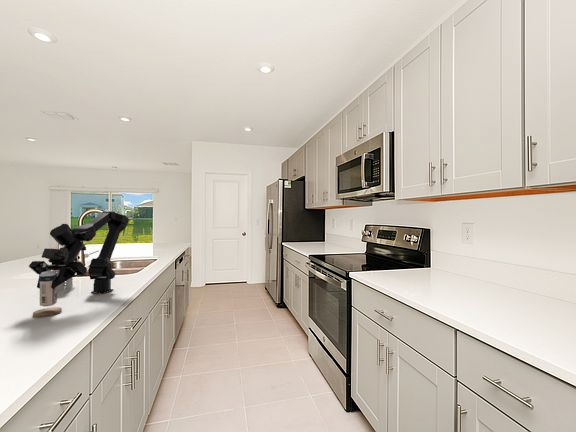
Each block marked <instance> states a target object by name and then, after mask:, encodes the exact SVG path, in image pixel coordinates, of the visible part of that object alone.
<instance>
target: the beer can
mask: <svg viewBox="0 0 576 432" xmlns="http://www.w3.org/2000/svg"><path fill="white" fill-rule="evenodd" d="M56 273H57V272H55V271H53V270H51V271H46V272H42V273H41V274H40V288H39V306H41V307H50V306H51V307H52V306H54V305H56V304H57V303H58V301H57V300H58V299H57V296H58V293H57V287H55V288H54V289H52V288H51V286H52V284H53V282H54V281H55V279H56V277H57V274H56Z"/></svg>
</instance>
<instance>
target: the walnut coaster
mask: <svg viewBox="0 0 576 432" xmlns="http://www.w3.org/2000/svg"><path fill="white" fill-rule="evenodd" d="M62 310H63V308H62V307H61V306H60V307H59V306H58V307H57V306H55V307H53V306H51V307H45V308H40V309H38V310H35V311H34V312H32V317H33V318H45V317H46V318H47V317H53V316H56V315H59V314H60V313H62Z"/></svg>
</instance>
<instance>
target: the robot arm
mask: <svg viewBox="0 0 576 432" xmlns="http://www.w3.org/2000/svg"><path fill="white" fill-rule="evenodd" d="M129 221H130V219H129V218H128V216H127V215H125V214H124V215H123V214H121V213H117V212H115V211H112V210H103V211H102V212H101V213H100V214H98V215H97V216H95V218H93V219H92V220H90V221H88V222H87V223H85V224H81V225H78V226H76V227H74V228H72V229H71V227H70V225H69V224H68V223H61V225H59V226H56V227H54V228H53V229H51V230H50V233H49V235H50V237H51V238H53V240H54V241H55V242H57V244H58V245H59V246H61V247H60V248H44V249H43V251H42V254H41V255H40V256H41V258H43V259H47V262H49V263H51V264H49V263H47V262H46V261H45V260H33V261H31V262H30V263H29V265H28V268H29V269H31V270H32V271H33V272H34V273H35V274H37V275H39V276H38V280H37V284H36V288H37V289H40V274H41V273H42V272H46V271H53V270H58V271H59V274H58V276H57V277H56V279H55V281H54V282H53V284H52V286H51V288H52V289H54V288H55V287H57V286H58V285H60V284H62V283H63V282H66V281H67V280H68V279H70V278H76V276H85V275H86V273H87V272H88V275H89V279H90V280H93V287H92V288H93V290H92V291H91V292H90V293H92V294H106V293H109V292H112V291H114V289H113V288H112V287H111V285H112V280H113V279H114V278H115V277H116V272H115V271H114V270H113V268H112V267H113V263H112V260H111V259H112V256H113V253H114V251H115V248H116V245H117V242H118V240H119V237H120V235H121V232H123V231H124V230H125V229H126V228H127V226H128V225H129ZM105 225H107V226H108V232H107V233H106V237H105V239H104V241H103V244H102V247H101V250H100V252H99V255H98V256H97V257H96V258H95V257H94V258H92V259H91V260H90V263H89V265H88V268H87V267H86V266H85V265H84V264H83V262H82V261H78V258H77V257H78V255H80V253H81V251H87V247H86V244H85V243H83V242H91V241H92V240H93V239H94V238H95V237H96V235H97V234H96V233H97V231H99V230H100V229H102V228H103V227H104V226H105ZM62 246H63V248H62Z"/></svg>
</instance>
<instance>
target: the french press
mask: <svg viewBox="0 0 576 432" xmlns="http://www.w3.org/2000/svg"><path fill="white" fill-rule="evenodd" d="M63 247H64V246H62V245H61V248H63ZM52 271H55V272H56V274H57V276H58V274H59V271H58V270H52ZM73 279H74V277H72V278H70V279H68V280H67V281H65V282H63V283H62V284H60V285H58V286H57V294H58V293H66V292H67V293H68V292H71V291H75V290H76V287H74V286H73V282H74V281H73Z"/></svg>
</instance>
